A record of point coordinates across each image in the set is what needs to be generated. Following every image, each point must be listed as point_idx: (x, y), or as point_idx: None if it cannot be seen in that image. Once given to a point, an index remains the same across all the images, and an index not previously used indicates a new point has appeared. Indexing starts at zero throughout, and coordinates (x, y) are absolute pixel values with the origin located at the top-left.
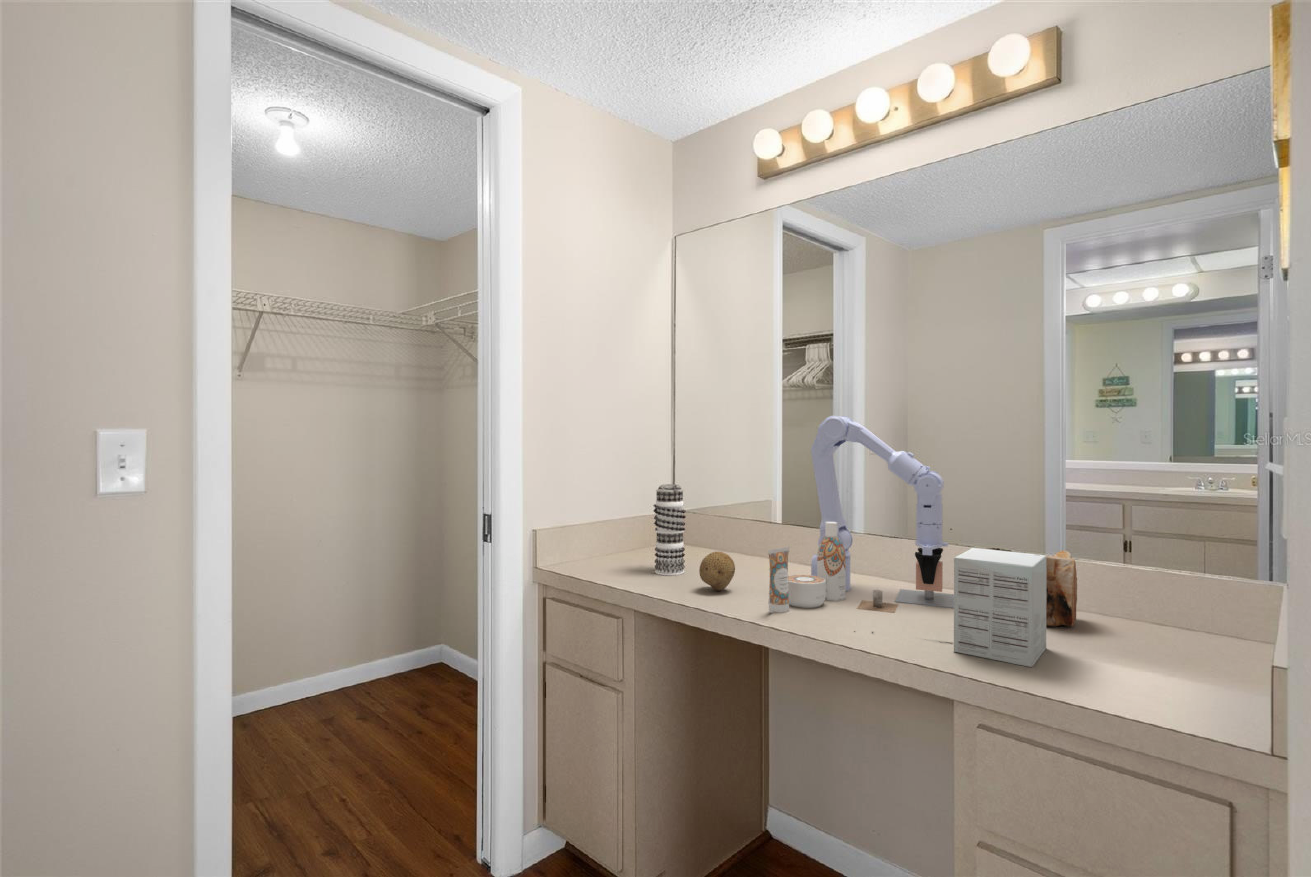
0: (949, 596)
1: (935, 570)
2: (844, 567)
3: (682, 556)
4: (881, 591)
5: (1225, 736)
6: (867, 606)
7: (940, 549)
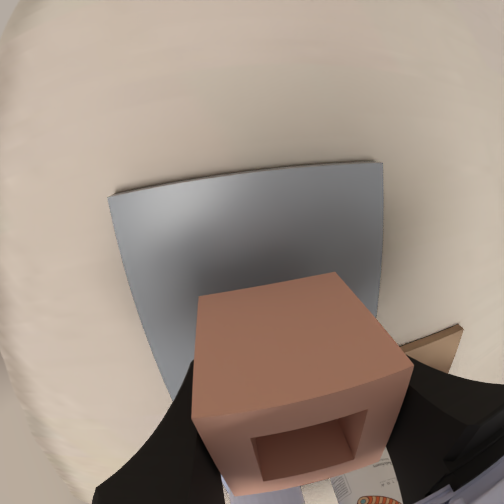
0: (174, 245)
1: (424, 364)
2: (394, 500)
3: None
4: None
5: None
6: None
7: None
